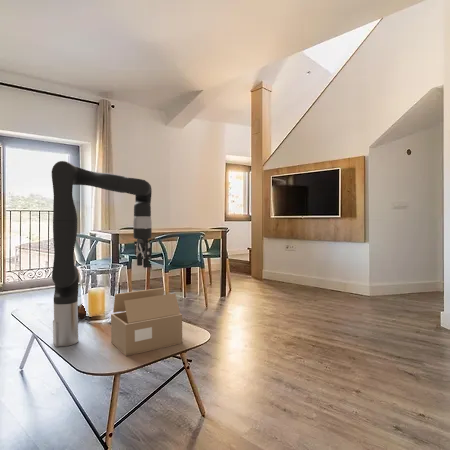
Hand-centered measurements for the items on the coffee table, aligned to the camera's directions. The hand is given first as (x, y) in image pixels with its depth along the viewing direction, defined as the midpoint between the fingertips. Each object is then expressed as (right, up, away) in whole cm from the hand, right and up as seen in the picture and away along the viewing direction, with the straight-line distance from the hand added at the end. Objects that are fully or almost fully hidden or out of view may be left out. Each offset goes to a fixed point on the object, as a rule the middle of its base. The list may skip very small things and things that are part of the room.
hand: (142, 266), depth 151 cm
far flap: (-2, -15, +3) cm, 16 cm away
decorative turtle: (-38, -31, +35) cm, 60 cm away
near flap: (+6, -16, -8) cm, 19 cm away
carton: (+2, -32, -2) cm, 32 cm away
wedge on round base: (-17, -31, +26) cm, 44 cm away
